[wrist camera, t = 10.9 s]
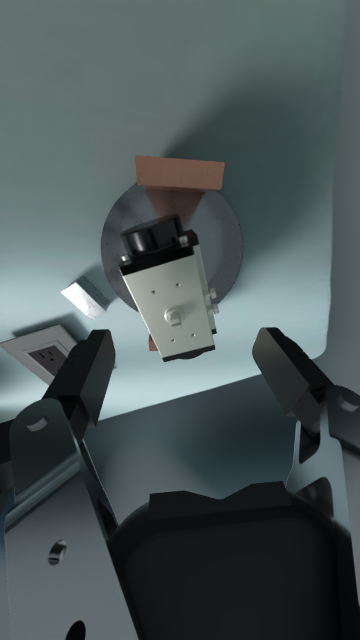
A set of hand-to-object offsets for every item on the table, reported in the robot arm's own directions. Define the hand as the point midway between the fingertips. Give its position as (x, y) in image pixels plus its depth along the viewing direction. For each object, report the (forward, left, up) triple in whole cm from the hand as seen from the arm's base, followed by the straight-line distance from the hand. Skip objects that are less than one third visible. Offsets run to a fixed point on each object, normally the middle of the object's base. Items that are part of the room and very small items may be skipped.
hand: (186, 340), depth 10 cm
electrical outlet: (+17, -19, -17) cm, 31 cm away
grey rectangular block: (+5, -12, -16) cm, 21 cm away
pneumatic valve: (+1, 0, -15) cm, 15 cm away
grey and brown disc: (0, 0, -16) cm, 16 cm away
